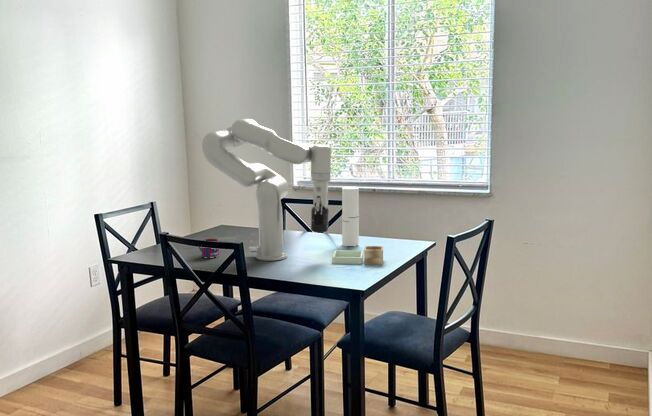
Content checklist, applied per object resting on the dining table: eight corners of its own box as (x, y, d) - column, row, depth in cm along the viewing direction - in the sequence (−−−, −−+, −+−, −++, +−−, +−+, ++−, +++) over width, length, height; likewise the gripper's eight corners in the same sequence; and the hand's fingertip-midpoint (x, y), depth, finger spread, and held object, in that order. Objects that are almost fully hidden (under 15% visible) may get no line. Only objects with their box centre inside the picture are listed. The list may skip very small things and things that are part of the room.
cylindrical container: (358, 246, 263) (359, 188, 259) (342, 246, 263) (342, 188, 259) (358, 242, 270) (358, 186, 266) (342, 243, 270) (342, 186, 266)
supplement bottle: (307, 231, 237) (308, 200, 235) (315, 228, 243) (316, 198, 241) (323, 233, 234) (323, 202, 231) (331, 230, 240) (332, 200, 237)
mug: (208, 259, 242) (207, 242, 241) (194, 255, 249) (193, 239, 248) (222, 256, 246) (221, 240, 245) (208, 252, 254) (207, 236, 252)
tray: (332, 264, 233) (332, 257, 232) (335, 257, 244) (335, 250, 243) (361, 265, 232) (361, 257, 231) (363, 258, 243) (363, 250, 242)
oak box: (364, 265, 232) (364, 249, 231) (364, 260, 239) (365, 245, 238) (382, 265, 231) (382, 250, 230) (383, 261, 238) (383, 246, 237)
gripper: (327, 180, 226) (326, 227, 229) (332, 174, 243) (331, 219, 246) (307, 179, 226) (307, 226, 229) (313, 174, 243) (312, 218, 246)
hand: (319, 222), depth 238 cm, fingers closed on supplement bottle, 6 cm apart
